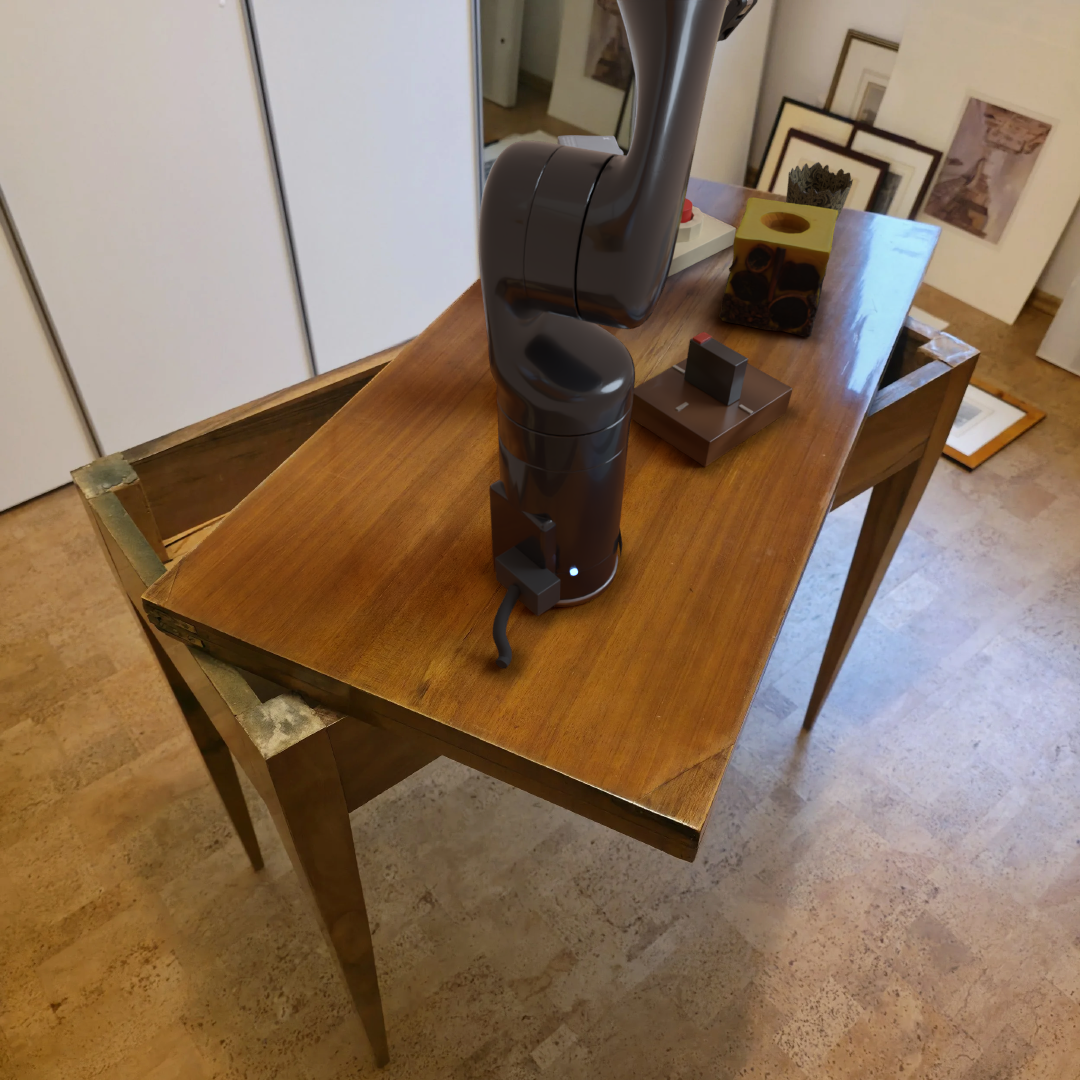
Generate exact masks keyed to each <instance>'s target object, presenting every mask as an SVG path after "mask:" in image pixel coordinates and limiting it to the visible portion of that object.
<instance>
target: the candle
mask: <svg viewBox="0 0 1080 1080" xmlns="http://www.w3.org/2000/svg"><path fill="white" fill-rule="evenodd" d="M837 215H838V210H833V209H828V208H821V207H815V206H809V205H800V204H794V203H786V201H785V202H784V201H780V200H772V199H766V198H765V199H764V198H758V197H753V196H752V197H749V198H748V199H747V201H746V205H745V210H744V212H743V214H742V218H741V222H740V223H739V226H738V228H736V232H735V238H734V243H733V251H732V252H733V254H732V255H733V256H732V262H731V265H730V267H728V270H729V273H728V276H727V279H726V283H725V286H724V291H723V295H722V298H721V310H720V312H719V314H718V317H719V318H720V320H721V321H723V322H726V323H730V324H736V325H741V326H746V327H750V328H755V329H759V330H765V331H774V332H777V331H781V332H784V333H785V332H786V333H789V334H792V335H797V336H800V337H804V338H810V337H812V333H813V329H814V325H815V321H816V318H817V314H818V310H819V305H820V302H821V301H820V299H821V296H822V295H821V294H822V291H823V284H824V281H825V277H826V274H827V268H828V263H829V260H830V256H831V251H832V250H833V249H832V248H833V239H834V233H835V227H836V223H837V221H836V219H837ZM837 220H838V219H837Z"/></svg>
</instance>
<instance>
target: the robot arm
mask: <svg viewBox="0 0 1080 1080" xmlns="http://www.w3.org/2000/svg"><path fill="white" fill-rule="evenodd" d="M758 1H759V0H616V4H617V6H618V9H619V12H620V16H621V19H622V22H623V26H624V29H625V34H626V38H627V42H628V47H629V52H630V56H631V61H632V66H633V72H634V79H635V96H636V98H635V117H634V126H633V133H632V138H631V143H630V147H629V150H628V152H627V154H626V155H624V154H623V155H617V154H612V153H606V152H600V151H594V150H588V149H582V148H576V147H571V146H564V145H560V144H557V143H552V142H546V141H541V140H520V141H516V142H513V143H510V145H508V146H507V147H505V148H504V149H503V150H502V151H501V152H500V153H499V154H498V156H497V157H496V159H495V160H494V162H493V164H492V166H491V168H490V169H489V172H488V175H487V178H486V181H485V183H484V186H483V191H482V194H481V195H482V196H481V202H480V208H479V215H478V216H479V217H478V236H477V237H478V243H477V244H478V252H477V253H478V262H479V276H480V286H481V293H482V294H481V296H482V301H483V311H484V320H485V329H486V330H485V331H486V339H487V353H488V354H487V355H488V362H489V370H490V372H491V376H492V378H493V381H494V383H495V388H496V408H497V412H496V413H497V437H498V438H497V440H498V441H497V442H498V443H497V444H498V466H499V467H498V469H499V470H498V471H499V479H497V480H496V481H494V482H493V483H491V484H490V485H489V489H488V492H489V493H488V494H489V510H490V511H489V512H490V530H491V533H490V534H491V549H492V570H493V572H494V573H495V580H496V581H497V582H498V583H499V584H500V585H501V586H503V587H504V588H505V589H506V593H505V595H503V599H502V600H501V602H500V604H499V606H498V608H497V611H496V613H495V616H494V619H493V624H492V638H493V642H494V645H495V646H496V649H497V652H498V656H497V658H496V660H495V665H496V666H497V667H498V668H500V669H507V668H509V665H510V664H511V662H512V660H513V659H512V658H513V651H512V647H511V643H510V641H509V639H508V636H507V627H508V621H509V620H510V617H511V614H512V612H513V609H514V608H515V606H516V604H517V602H518V601H519V602H520V603H521V604H522V605H524V606H525V607H526V608H527V609H528V610H529V611H531V613H533V614H534V615H535V616H536V617H539V616H540V615H542V614H544V613H547V612H548V611H549V610H551V609H553V608H567V607H569V608H570V607H576V606H580V605H583V604H586V603H589V602H591V601H593V600H595V599H597V598H598V597H600V596H601V595H603V593H606V591H607V590H608V589H609V587H610V586H612V583H613V582H614V580H615V578H616V576H617V570H618V562H619V556H620V557H622V551H623V539H622V533H621V519H622V510H623V499H624V489H625V480H626V479H625V478H626V469H627V459H628V449H629V441H630V440H629V438H630V430H631V421H632V418H631V412H632V402H633V394H634V388H635V384H636V383H635V382H636V368H635V367H636V366H635V363H634V359H633V357H632V355H631V353H630V351H629V350H628V348H627V347H626V345H625V344H624V343H623V342H622V341H621V339H619V338H618V337H617V336H615V334H613V333H611V331H609V330H607V329H605V328H604V327H609V328H615V329H620V330H634V329H637V328H640V327H641V326H643V325H644V324H645V323H646V322H647V321H648V319H649V318H650V317H651V316H652V314H653V313H654V311H655V309H656V308H657V306H658V303H659V302H660V299H661V297H662V294H663V292H664V290H665V288H666V287H665V286H666V283H667V281H668V278H669V277H668V274H669V271H670V267H671V263H672V259H673V255H674V251H675V246H676V241H677V237H678V232H679V227H680V223H681V218H682V213H683V208H684V203H685V198H686V199H687V197H686V196H687V191H688V187H689V182H690V176H691V172H692V167H693V162H694V156H695V151H696V146H697V142H698V135H699V130H700V126H701V120H702V117H703V110H704V104H705V102H706V101H705V100H706V95H707V90H708V86H709V81H710V75H711V71H712V67H713V61H714V58H715V53H716V49H717V44H718V43H719V42H723V41H726V40H727V39H728V38H729V37H730V36H731V35H732V33H733V32H734V31H735V30H736V29H737V27H738V26H739V25H740V23H742V21H743V20H744V19H745V18H746V17H747V15H749V13H750V12H751V11H752V9H754V7H755V6H756V5H757V4H758ZM602 326H604V327H602ZM618 550H619V554H618ZM618 555H619V556H618Z"/></svg>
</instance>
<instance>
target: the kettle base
mask: <svg viewBox="0 0 1080 1080" xmlns="http://www.w3.org/2000/svg"><path fill="white" fill-rule="evenodd" d="M736 232H737V227H735V226H732V225H731V224H729V223H726V222H725V221H722V220H720V219H717V218H716V217H714V216H711V215H709V214H708V213H705V212H702V211H701V209H700V207H697V206H694V205H693V206H692V214H691V220H690V221H688V222H686V223H680V227H679V232H678V237H677V241H676V246H675V251H674V255H673V259H672V263H671V267H670V271H669V274H668V278H669V277H671V276H674V275H675V274H677V273H679V272H681V271H683V270H686V269H687V268H690V267H691V266H693V265H695V264H697V263H699V262H702V261H703V260H705V259H707V258H709V257H712V256H714V255H716V254H718V253H720V252H722V251H723V250H726V249H728V248H730V247H731V246H734V238H735V234H736Z"/></svg>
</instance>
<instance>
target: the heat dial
mask: <svg viewBox="0 0 1080 1080" xmlns="http://www.w3.org/2000/svg"><path fill="white" fill-rule="evenodd" d="M686 358H687V362H686V369H685V376H684V380H686V381H688V382H689V383H691V384H692V385H694V386H696V387H697V388H699V389H701V390H702V391H704V392H705V393H707V394H709V395H710V396H712V397H713V398H715V399H717V400H718V401H720V402H722V403H723V404H725V405H726V406H728V405H730V404H732V403H733V402H735V401H737V400H738V399H740V395H741V390H742V386H743V381H744V376H745V372H746V367H747V363H748V361H749V357H746V355H745V356H744V355H742V354H741V353H740V352H738V351H736V350H734V349H732V348H731V347H729V346H727V345H725V344H723V343H722V342H720V341H718V340H717V339H715V338H713V336H712V335H710V334H709V333H707V332H705V331H702V332H700V333H698V334H697V335H695V336H693V337H691V338H690V339H689V342H688V350H687V356H686Z"/></svg>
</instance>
